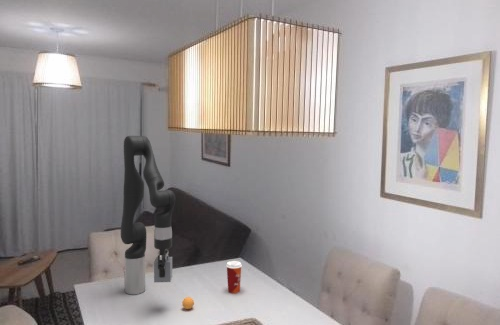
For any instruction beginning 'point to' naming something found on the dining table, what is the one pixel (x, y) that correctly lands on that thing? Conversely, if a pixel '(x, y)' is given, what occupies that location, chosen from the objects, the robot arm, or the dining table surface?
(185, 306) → the ball
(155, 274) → the gray cube
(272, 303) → the dining table surface
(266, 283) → the dining table surface
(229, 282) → the paper cup
